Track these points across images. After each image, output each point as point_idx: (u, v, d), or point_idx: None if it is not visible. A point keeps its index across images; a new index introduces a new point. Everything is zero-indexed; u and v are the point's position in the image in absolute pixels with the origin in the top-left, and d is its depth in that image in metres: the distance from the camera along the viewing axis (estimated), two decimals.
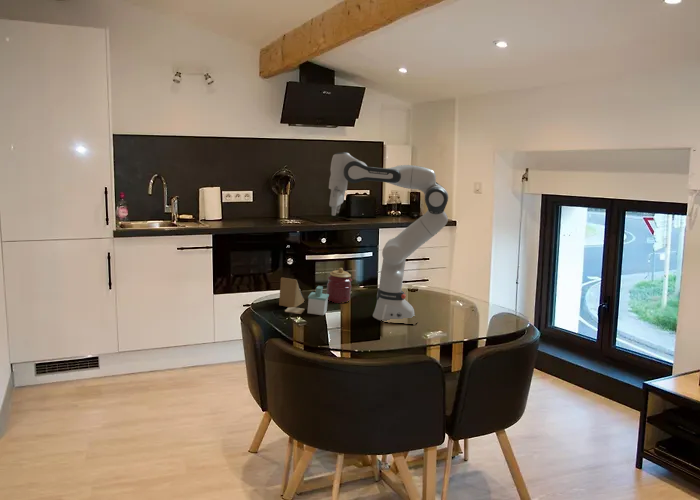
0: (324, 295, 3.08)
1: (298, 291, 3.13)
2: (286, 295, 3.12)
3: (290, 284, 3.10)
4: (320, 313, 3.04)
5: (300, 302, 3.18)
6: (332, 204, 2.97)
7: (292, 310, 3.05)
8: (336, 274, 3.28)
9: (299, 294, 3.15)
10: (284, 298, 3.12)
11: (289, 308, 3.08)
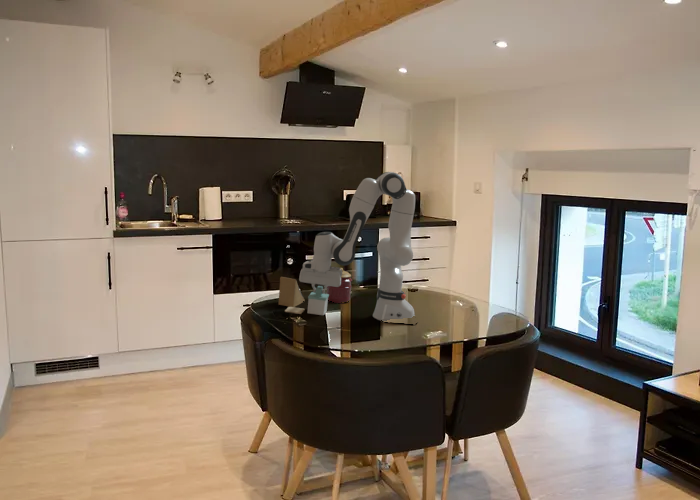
0: (324, 295, 3.08)
1: (297, 290, 3.14)
2: (285, 294, 3.13)
3: (289, 283, 3.11)
4: (320, 313, 3.04)
5: (300, 301, 3.19)
6: (340, 284, 3.04)
7: (292, 310, 3.05)
8: None
9: (299, 293, 3.16)
10: (283, 297, 3.13)
11: (289, 308, 3.08)
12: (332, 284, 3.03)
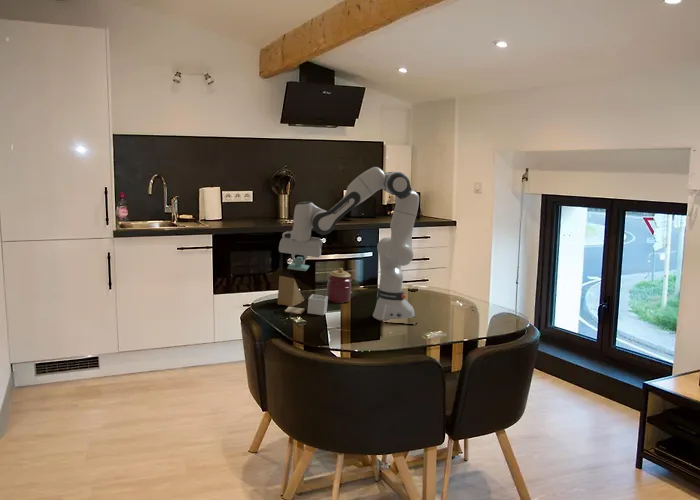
0: (304, 266, 3.04)
1: (296, 290, 3.15)
2: (284, 294, 3.14)
3: (288, 283, 3.12)
4: (320, 313, 3.04)
5: (299, 301, 3.20)
6: (320, 254, 3.00)
7: (292, 310, 3.05)
8: (336, 274, 3.28)
9: (298, 293, 3.17)
10: (282, 296, 3.14)
11: (289, 308, 3.08)
12: (312, 254, 2.99)
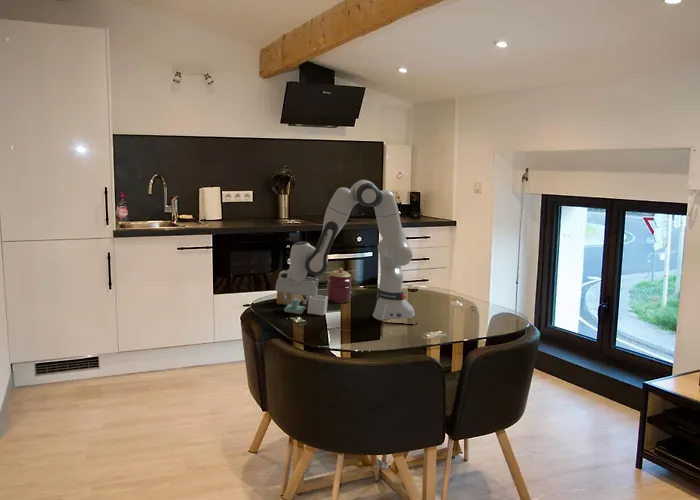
0: (300, 308, 3.08)
1: None
2: None
3: None
4: (320, 313, 3.04)
5: None
6: (316, 293, 3.04)
7: None
8: (336, 274, 3.28)
9: None
10: (281, 295, 3.16)
11: None
12: (308, 293, 3.03)
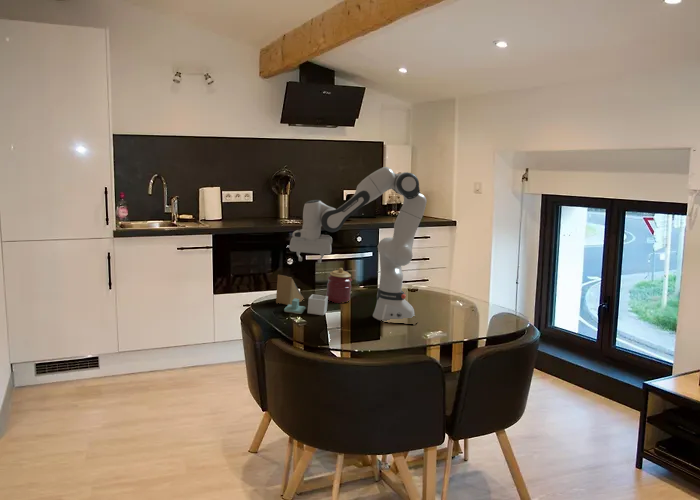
0: (300, 308, 3.08)
1: (294, 289, 3.17)
2: (282, 292, 3.16)
3: (286, 281, 3.14)
4: (320, 313, 3.04)
5: None
6: (330, 251, 3.04)
7: None
8: (336, 274, 3.28)
9: (296, 292, 3.19)
10: (280, 295, 3.17)
11: None
12: (323, 252, 3.03)
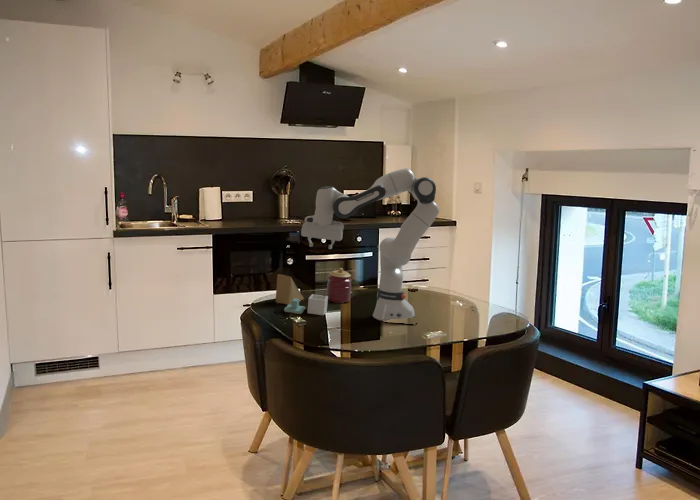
0: (300, 308, 3.08)
1: (294, 288, 3.17)
2: (281, 292, 3.17)
3: (285, 281, 3.15)
4: (320, 313, 3.04)
5: None
6: (341, 238, 3.07)
7: None
8: (336, 274, 3.28)
9: (296, 292, 3.19)
10: (280, 294, 3.18)
11: None
12: (334, 238, 3.06)
